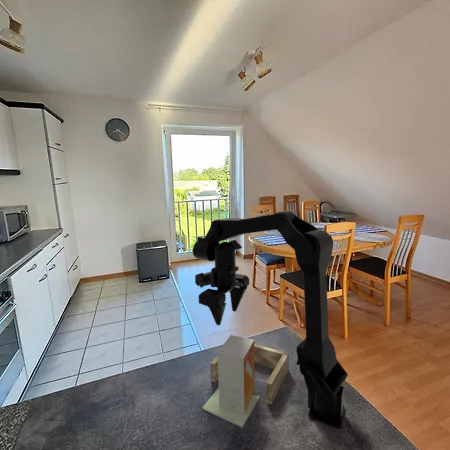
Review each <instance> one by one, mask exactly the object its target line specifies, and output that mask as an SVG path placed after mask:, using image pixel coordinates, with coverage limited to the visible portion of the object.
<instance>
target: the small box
mask: <svg viewBox="0 0 450 450" xmlns="http://www.w3.org/2000/svg"><path fill="white" fill-rule="evenodd" d="M254 344H255V339H251V338H246V337H242V336H237V335H233V334H230V335H229V337H228V338H227V339H226V341H225V342H223V344H222V346H221V348H220V349H219V350H218V352H217V356H218V380H217V381H218V388H219V406H222V407H225V408H228V409H231V410H234V411H238V412H241V413H245V411H246V409H247V406H248V404H249V401H250V399H251V396H252V394H254V392H255V388H256V385H255V384H256V382H255V381H256V380H255V379H256V378H255V377H256V376H255V371H256V370H255V366H256V365H255V364H256V363H254Z"/></svg>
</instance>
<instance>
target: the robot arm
mask: <svg viewBox="0 0 450 450" xmlns="http://www.w3.org/2000/svg"><path fill="white" fill-rule="evenodd" d="M275 230H276V231H277V232H279V233H280V235H281V236H282V238H283V240H284V241H285V243H286V244H287V245H288V246H289V247H290V248H292V250H294V254H295V260H296V263H297V265H298V266H299V267H298V268H300V271H301V272H302V276H303V297H304V321H305V338H304V339H303V340H302V341H301V342H300V343H299V344H298V345H297V346H296V355H297V361H296V366H299V372H300V374H301V376H303V379H304V382H305V385H306V389H307V408H308V409H309V410H308V414H307V415H308V416H307V417H308V418H310V419H311V420H314V421H316V422H319V423H321V424H324V425H328V426H330V427H333V428H335V429H337V430H341V429H342V425H343V419H344V412H345V406H344V391H345V390H344V388H345V387H344V385H343V383H344V382H345V381H346V379H347V377H348V375H349V374H348V372H347V370H345V369H344V367H343V366H342V365H341V363H340V361H338V359H337V354H336V348H335V346H334V343H332V340H331V338H330V336H329V316H328V313H329V312H328V308H329V307H328V287H327V286H328V285H327V284H328V283H327V279H328V278H327V274H328V273H327V272H328V269H329V266H330V264H331V263H330V262H331V260H332V255H333V250H334V240H333V237H332V236H331V234H329V232H327V231H325V230H323V229H318V228H317V227H316V226H315V225H314V224H311V223H310V222H308V221H306V220H304V219H303V218H301V217H299V216H297V215H296V214H295V213H294V212H292V211H290V210H283V211H277V212H276V213H275V212H274V213H272V214H267V215H260V216H254V217H249V218H240V217H225V218H219V219H213V220H212V221H211V222H210V225H209V229H208V231H207V233H206V235H204V236H203V235H201V236H197V240H196V242H195V243H194V244H193V247H192V249H191V250H192V255H193V256H194V258H195V259H199V260H203V261H208V262H214V267H212V268H211V270H210V271H207V272H200V273H197V274H195V275H194V276H195V277H194V283H195V285H196V286H197V287H199V288H204V287H205V286H207V287H208V286H210V288H207V289H205V290H204V291H202V292H201V293H199V294H198V304H199V305H202V306H205V307H207V308H208V310H209V311H210V312H211V315H212V318H213V319H214V320H213V321H214V323H215V325H216V326H221V324H222V321H223V316H224V312H225V310H226V305H227V302H226V299H227V298H226V294H228V293H229V295H230V303H231V309H232V311H233V312H237V311H238V309H239V305H240V304H241V301H242V299H243V297H244V295H245V293H246V291H247V289H248V286H249V285H250V278H249V276H247V275H245V274H239V273H237V272H238V271H239V266H238V265H237V266H236V251H237V250H241V249H242V248H243V247H242V245H241V244H240V243H239V242H237V240H236V239H235V238H237V237H240V236H243V235H245V234H252V233H259V232H260V233H261V232H267V231H268V232H269V231H275ZM230 239H234V240H230ZM227 240H230V241H227ZM213 288H216V289H213Z"/></svg>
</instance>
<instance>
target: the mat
mask: <svg viewBox="0 0 450 450" xmlns="http://www.w3.org/2000/svg"><path fill="white" fill-rule="evenodd" d="M259 400H260V396H259V395H256V394H254V393H253V394H252V396H251V399H250V401H249V404H248V406H247V409H246V411H245V413H241V412H238V411H234V410H231V409H228V408H225V407H222V406H219V387H218V388H216V390H215V391H214V393H213V394H212V395H211V396H210V398H209V399H208V400H207V401H206V402H205V404H204V405H203V406H202V407H201V408H202V410H203V411H204V412H205V411H206V412H207V413H210V414H212V415H213V416H216V417H218V418H221V419H223V420H225V421H226V422H230V423H232V424H233V425H235V426H238V427H240V428H243V427H244V426H245V424H246V422H247V420H248V419H249V417H250V415H251V414H252V412H253V410H254V408H255V406H256V405H257V403H258V401H259Z"/></svg>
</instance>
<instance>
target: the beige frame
mask: <svg viewBox="0 0 450 450" xmlns="http://www.w3.org/2000/svg"><path fill="white" fill-rule="evenodd" d="M289 355H290V353H289V352H286V351H281V350H278V349H274V348H271V347H268V346H264V345H259V344H257V343H254V364H256V365H259V366H264V367H265V368H266V367H267V368H270V369H272V370H273V371H272V373H271V374H270V376H269V378H268V379H267V381H266V385H265V386H266V396H265V397H266V404H269V405H271V406H272V405H273V403H274V400H275V399H276V397H277V394H278V393H279V390H281V389H280V388H281V386H282V385H283V382H284V381H285V379H286V377H287V375H288V373H289V372H290V371H289V366H290V365H289V364H290V362H289ZM209 367H210V381H211V382H213V383H217V381H218V355H216V357H215V358H214V359H212V361H211V362H210V366H209Z"/></svg>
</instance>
